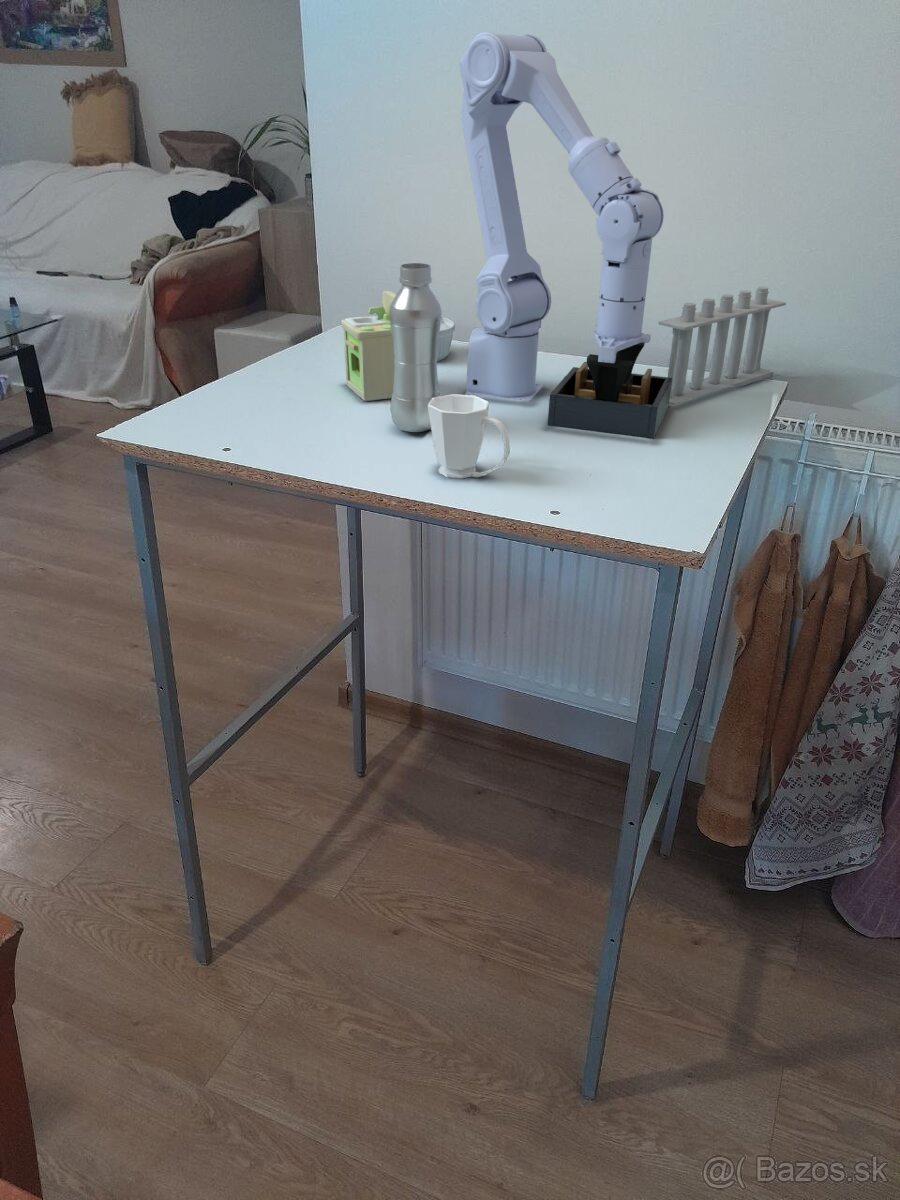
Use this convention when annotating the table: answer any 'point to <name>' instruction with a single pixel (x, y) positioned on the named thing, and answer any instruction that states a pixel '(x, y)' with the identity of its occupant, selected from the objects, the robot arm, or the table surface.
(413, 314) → the silver bottle
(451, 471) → the cup
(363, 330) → the toy sink
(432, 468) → the table surface
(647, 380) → the dish rack
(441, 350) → the ramekin
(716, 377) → the test tube rack
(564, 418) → the dark grey open box
